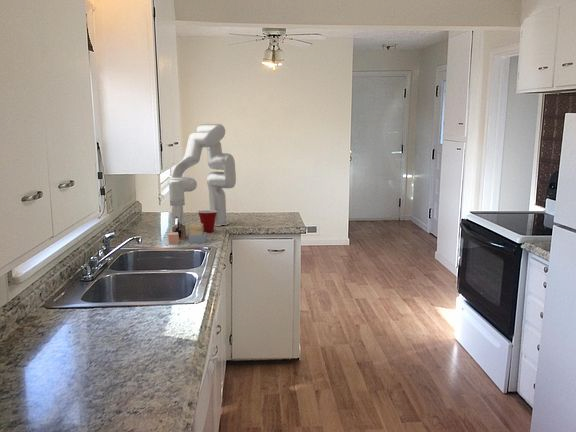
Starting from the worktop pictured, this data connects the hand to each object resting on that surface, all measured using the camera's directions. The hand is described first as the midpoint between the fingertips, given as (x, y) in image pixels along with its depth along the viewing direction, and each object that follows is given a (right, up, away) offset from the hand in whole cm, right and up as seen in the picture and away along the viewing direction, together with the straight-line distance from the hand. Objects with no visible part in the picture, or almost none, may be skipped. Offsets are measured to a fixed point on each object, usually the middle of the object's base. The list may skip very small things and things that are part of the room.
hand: (179, 235), depth 265 cm
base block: (+12, -3, -9) cm, 15 cm away
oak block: (+11, +1, -10) cm, 15 cm away
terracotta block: (0, -3, -12) cm, 12 cm away
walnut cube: (0, -1, 0) cm, 1 cm away
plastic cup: (+13, +2, +14) cm, 19 cm away
